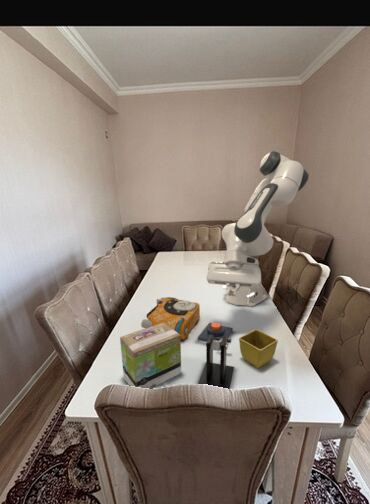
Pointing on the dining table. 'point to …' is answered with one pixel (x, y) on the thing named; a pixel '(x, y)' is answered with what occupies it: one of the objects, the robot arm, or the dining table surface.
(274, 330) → the dining table surface
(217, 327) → the button
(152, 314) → the device
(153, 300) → the dining table surface
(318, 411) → the dining table surface
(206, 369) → the bracket
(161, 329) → the tea box
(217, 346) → the lever
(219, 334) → the button block
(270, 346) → the flower pot
